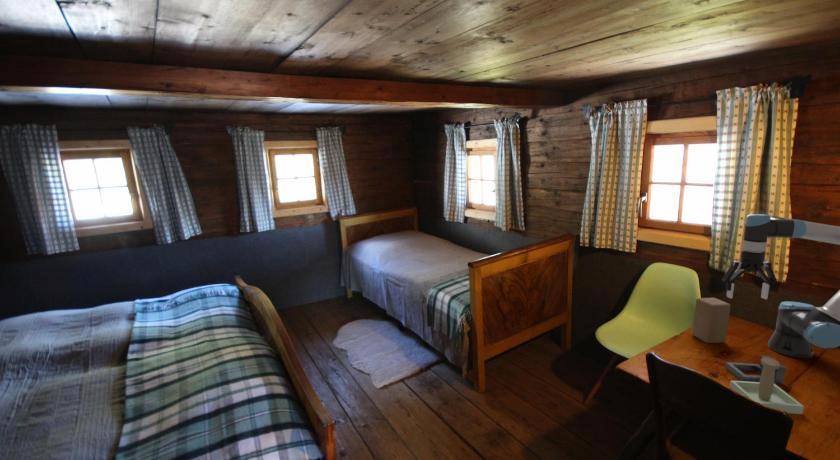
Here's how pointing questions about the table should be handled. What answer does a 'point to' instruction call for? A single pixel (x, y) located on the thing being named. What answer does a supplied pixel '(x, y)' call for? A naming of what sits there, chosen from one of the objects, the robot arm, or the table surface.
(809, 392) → the table surface
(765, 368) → the handle
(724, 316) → the wooden block
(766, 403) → the tray
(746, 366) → the socket
